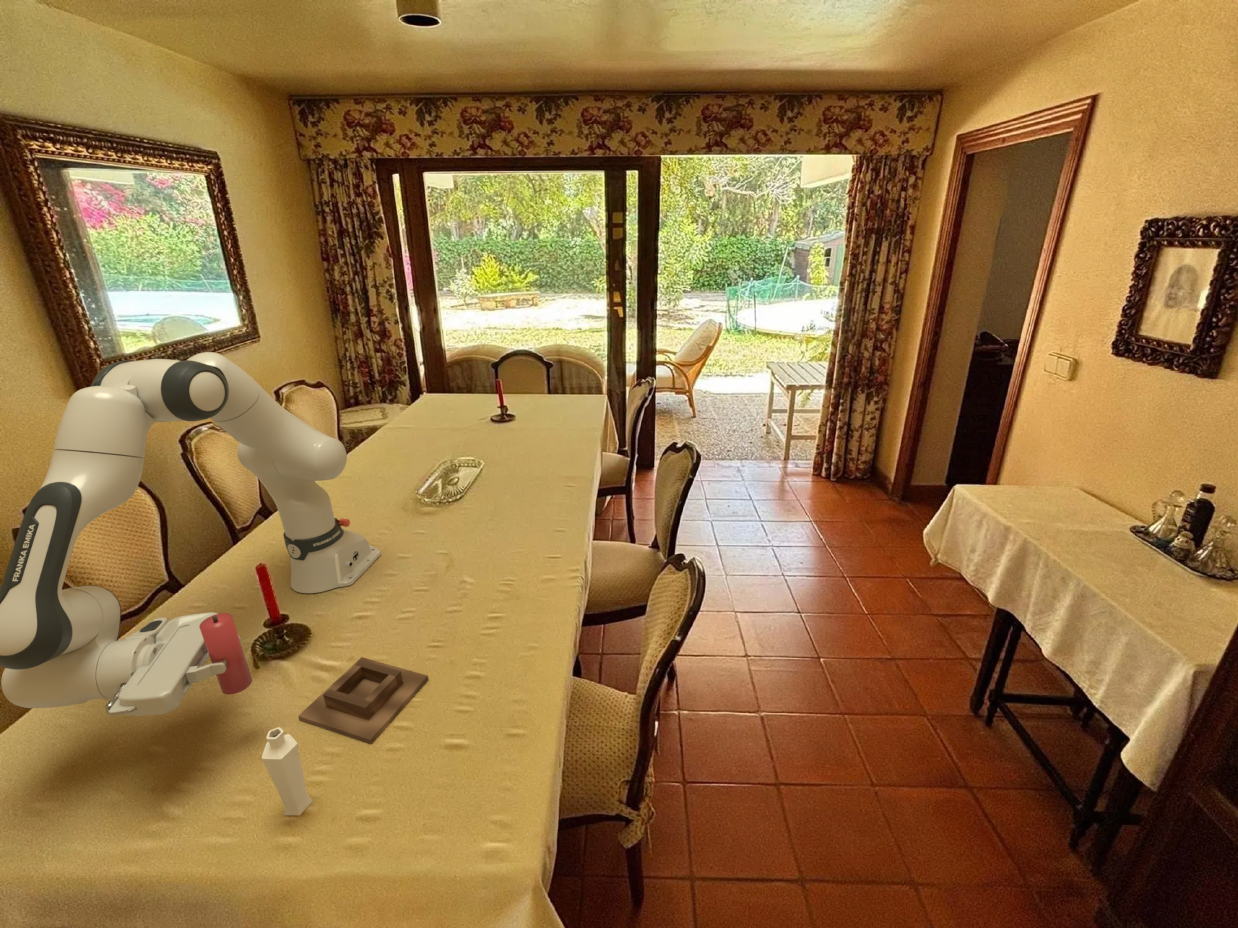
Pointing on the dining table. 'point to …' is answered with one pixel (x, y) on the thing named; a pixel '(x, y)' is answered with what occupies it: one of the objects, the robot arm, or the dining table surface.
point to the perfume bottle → (286, 771)
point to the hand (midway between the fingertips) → (232, 652)
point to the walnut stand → (364, 699)
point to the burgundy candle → (226, 652)
